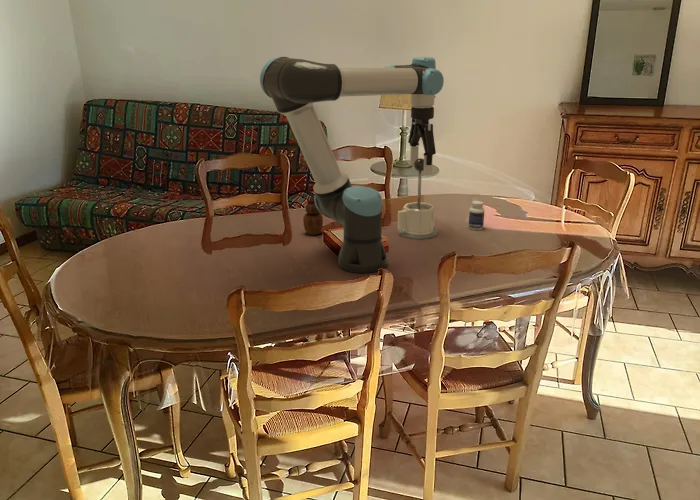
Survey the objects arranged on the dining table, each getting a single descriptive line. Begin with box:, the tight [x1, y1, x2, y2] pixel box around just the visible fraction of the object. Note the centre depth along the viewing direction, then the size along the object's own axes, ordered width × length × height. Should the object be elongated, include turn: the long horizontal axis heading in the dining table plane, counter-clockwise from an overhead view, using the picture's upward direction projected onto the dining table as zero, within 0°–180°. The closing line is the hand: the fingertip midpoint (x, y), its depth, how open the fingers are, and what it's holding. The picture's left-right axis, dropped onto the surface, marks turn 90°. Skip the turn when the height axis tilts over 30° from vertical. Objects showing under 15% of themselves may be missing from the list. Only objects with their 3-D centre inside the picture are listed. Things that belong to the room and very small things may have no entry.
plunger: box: [409, 157, 429, 211], centre depth 204 cm, size 7×7×18 cm
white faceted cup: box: [397, 201, 439, 240], centre depth 208 cm, size 15×14×10 cm
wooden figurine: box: [303, 193, 324, 236], centre depth 207 cm, size 7×6×15 cm
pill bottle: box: [467, 200, 485, 231], centre depth 212 cm, size 5×5×10 cm
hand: (420, 169), depth 202 cm, fingers open, 13 cm apart
